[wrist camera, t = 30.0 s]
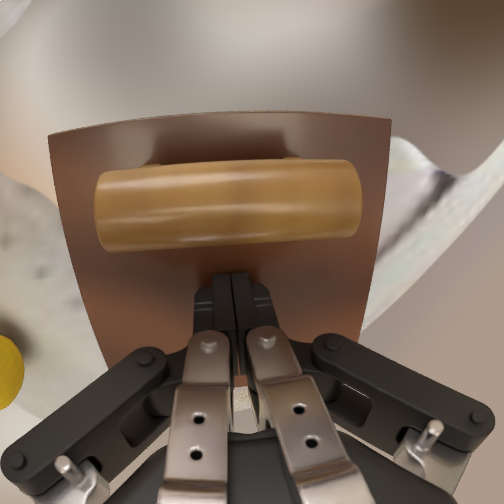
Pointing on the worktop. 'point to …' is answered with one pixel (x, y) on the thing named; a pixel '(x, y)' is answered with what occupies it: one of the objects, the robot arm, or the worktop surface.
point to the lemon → (10, 371)
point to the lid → (221, 219)
